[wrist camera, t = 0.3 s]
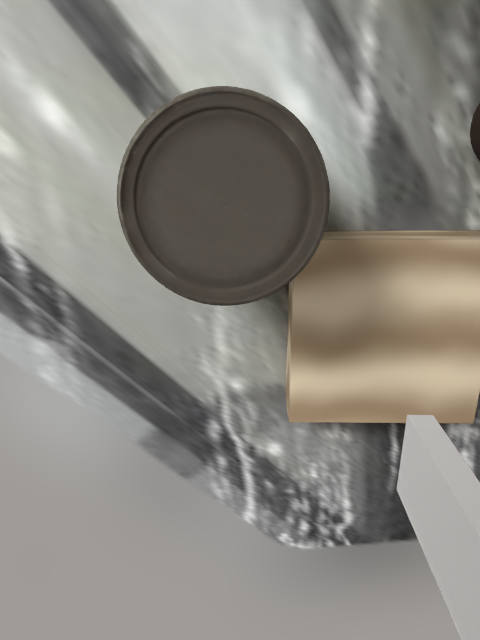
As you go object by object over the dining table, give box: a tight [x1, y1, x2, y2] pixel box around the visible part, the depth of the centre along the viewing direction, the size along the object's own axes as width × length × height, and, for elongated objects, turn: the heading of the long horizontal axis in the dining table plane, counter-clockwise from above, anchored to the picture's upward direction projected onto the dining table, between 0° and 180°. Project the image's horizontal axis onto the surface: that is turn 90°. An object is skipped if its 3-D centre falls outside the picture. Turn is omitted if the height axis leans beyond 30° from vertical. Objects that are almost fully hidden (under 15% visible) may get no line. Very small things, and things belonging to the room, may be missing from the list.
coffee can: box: [117, 86, 330, 306], centre depth 29 cm, size 10×10×14 cm
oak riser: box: [286, 230, 480, 423], centre depth 37 cm, size 15×15×4 cm
